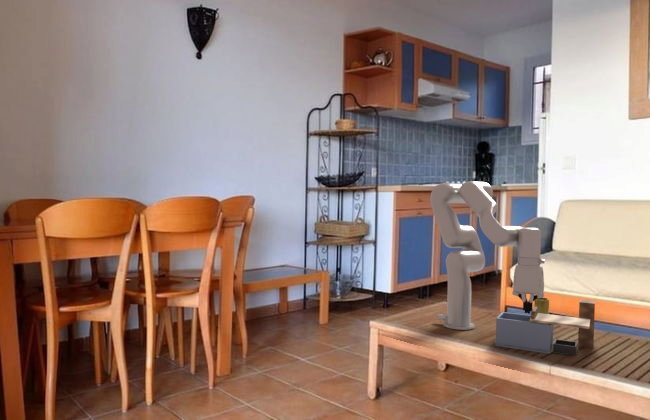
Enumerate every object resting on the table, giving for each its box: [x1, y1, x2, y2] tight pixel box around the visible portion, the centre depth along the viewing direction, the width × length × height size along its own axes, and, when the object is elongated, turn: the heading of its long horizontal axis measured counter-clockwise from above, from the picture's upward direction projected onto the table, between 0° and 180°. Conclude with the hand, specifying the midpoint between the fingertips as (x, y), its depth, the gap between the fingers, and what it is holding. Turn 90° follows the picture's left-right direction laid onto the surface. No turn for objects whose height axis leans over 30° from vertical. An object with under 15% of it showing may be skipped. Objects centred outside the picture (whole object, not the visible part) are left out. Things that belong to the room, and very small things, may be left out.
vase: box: [533, 297, 550, 314], centre depth 204 cm, size 6×6×14 cm
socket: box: [552, 338, 578, 357], centre depth 181 cm, size 7×7×3 cm
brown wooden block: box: [577, 299, 596, 349], centre depth 190 cm, size 5×5×16 cm
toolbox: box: [495, 311, 554, 355], centre depth 188 cm, size 18×12×10 cm, turn 62°
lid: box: [530, 307, 590, 329], centre depth 182 cm, size 19×13×3 cm
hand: (527, 312), depth 187 cm, fingers closed
